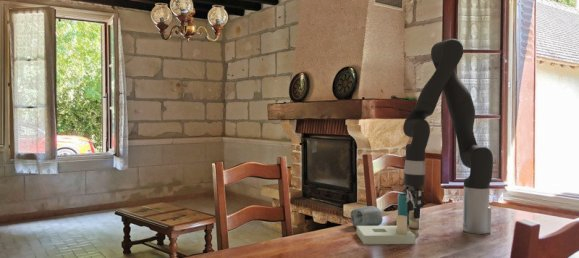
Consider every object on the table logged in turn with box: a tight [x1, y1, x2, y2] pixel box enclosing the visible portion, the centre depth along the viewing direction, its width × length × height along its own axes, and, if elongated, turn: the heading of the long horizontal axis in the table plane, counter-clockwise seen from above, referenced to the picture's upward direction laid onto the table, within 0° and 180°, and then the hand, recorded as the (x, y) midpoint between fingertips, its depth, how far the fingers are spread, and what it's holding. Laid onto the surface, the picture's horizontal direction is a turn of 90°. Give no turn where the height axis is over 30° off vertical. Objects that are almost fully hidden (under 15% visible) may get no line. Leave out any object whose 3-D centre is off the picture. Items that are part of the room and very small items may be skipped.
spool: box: [350, 205, 384, 229], centre depth 186 cm, size 14×10×10 cm
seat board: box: [356, 214, 416, 245], centre depth 168 cm, size 18×14×9 cm
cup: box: [397, 192, 421, 224], centre depth 197 cm, size 9×12×11 cm
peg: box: [408, 211, 420, 238], centre depth 173 cm, size 4×4×9 cm
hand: (413, 215), depth 173 cm, fingers open, 8 cm apart
